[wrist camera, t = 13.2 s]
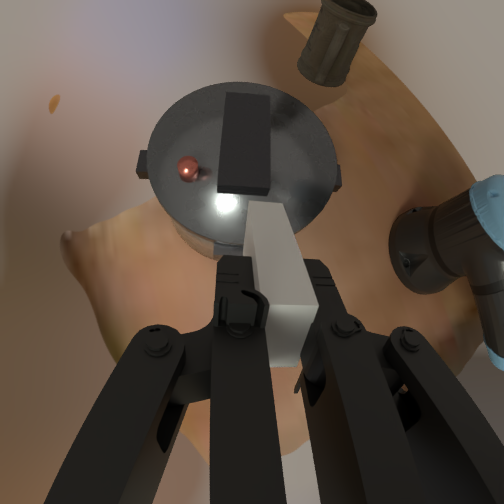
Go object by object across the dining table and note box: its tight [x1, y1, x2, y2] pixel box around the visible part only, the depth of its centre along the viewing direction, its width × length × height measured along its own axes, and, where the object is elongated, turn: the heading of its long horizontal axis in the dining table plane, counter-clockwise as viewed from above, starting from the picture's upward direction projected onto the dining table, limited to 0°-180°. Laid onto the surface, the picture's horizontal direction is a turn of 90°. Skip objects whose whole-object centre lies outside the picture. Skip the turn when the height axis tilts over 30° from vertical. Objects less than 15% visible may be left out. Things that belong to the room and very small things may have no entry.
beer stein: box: [297, 0, 377, 87], centre depth 42 cm, size 15×11×20 cm
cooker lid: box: [147, 82, 337, 247], centre depth 30 cm, size 21×21×4 cm
